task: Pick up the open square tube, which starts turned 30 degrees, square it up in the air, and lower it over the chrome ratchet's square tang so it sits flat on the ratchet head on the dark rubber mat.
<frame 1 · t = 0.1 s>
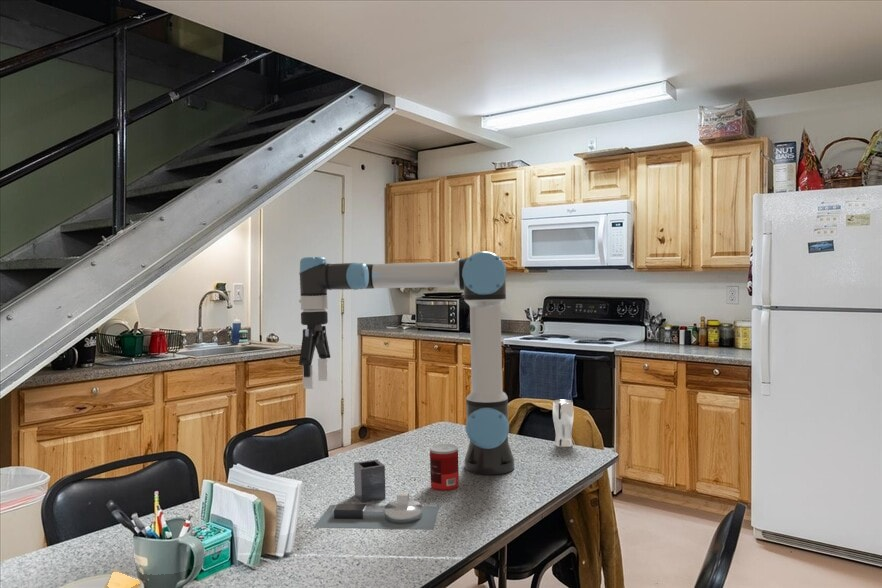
hand: (316, 384, 171), 28 cm above the table, fingers open, 13 cm apart
beer glass: (563, 445, 203), on the table
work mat: (378, 518, 143), on the table
open square tube: (370, 498, 156), on the table
ratchet: (403, 516, 142), resting on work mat
canned food: (444, 488, 163), on the table
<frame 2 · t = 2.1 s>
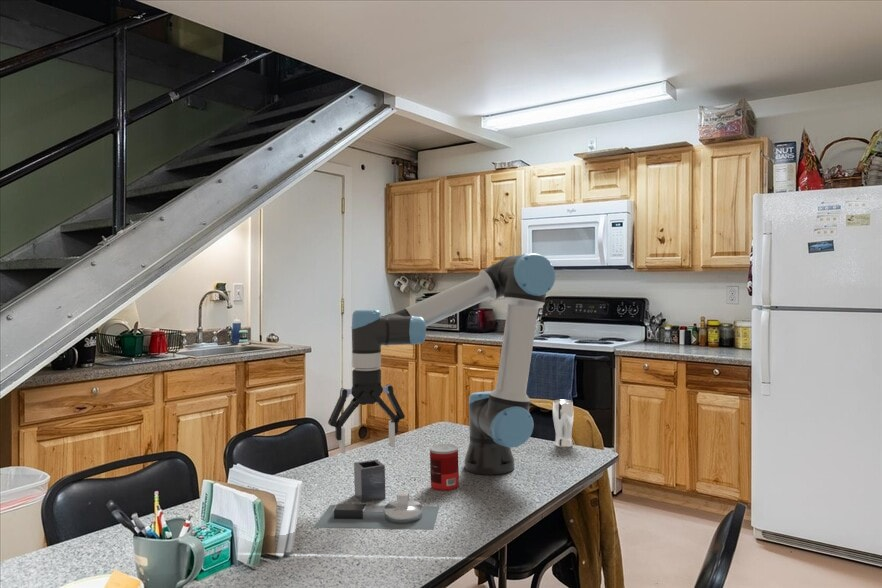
hand: (367, 449, 156), 13 cm above the table, fingers open, 13 cm apart
nothing on the table moved.
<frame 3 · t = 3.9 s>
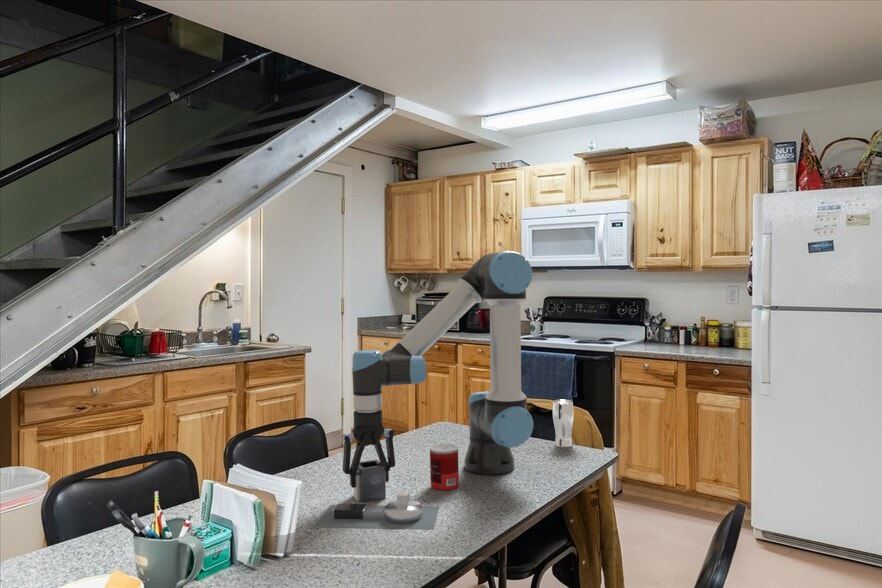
hand: (370, 496, 156), 0 cm above the table, fingers closed on open square tube, 6 cm apart
open square tube: (370, 498, 156), on the table, touching gripper
everything else where it was.
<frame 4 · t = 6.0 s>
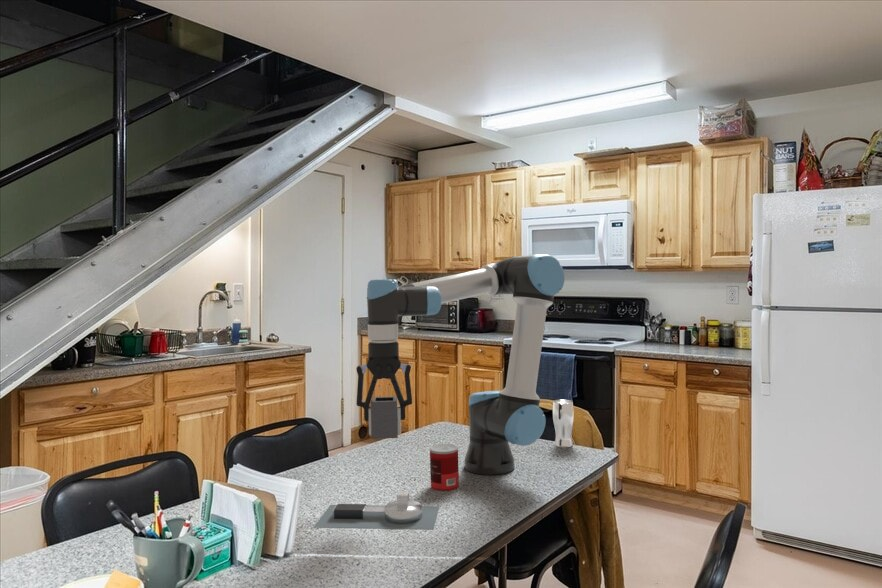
hand: (385, 433, 148), 19 cm above the table, fingers closed on open square tube, 6 cm apart
open square tube: (385, 435, 148), point 19 cm above the table, touching gripper
everything else where it was.
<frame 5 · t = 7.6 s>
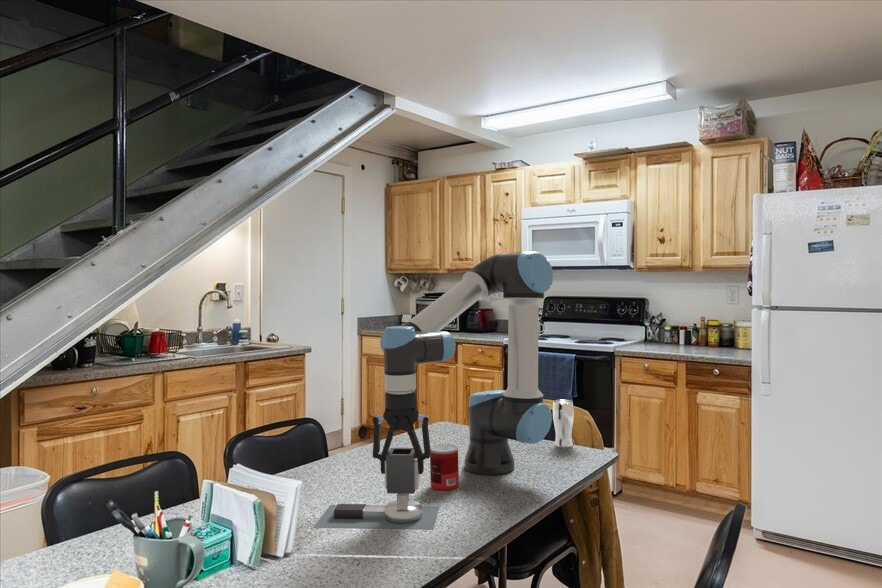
hand: (402, 486, 142), 8 cm above the table, fingers closed on open square tube, 6 cm apart
open square tube: (402, 488, 142), point 7 cm above the table, touching gripper
everything else where it was.
when the fingers open (4 cm above the table, at t = 8.6 s): open square tube stays where it is, resting on ratchet.
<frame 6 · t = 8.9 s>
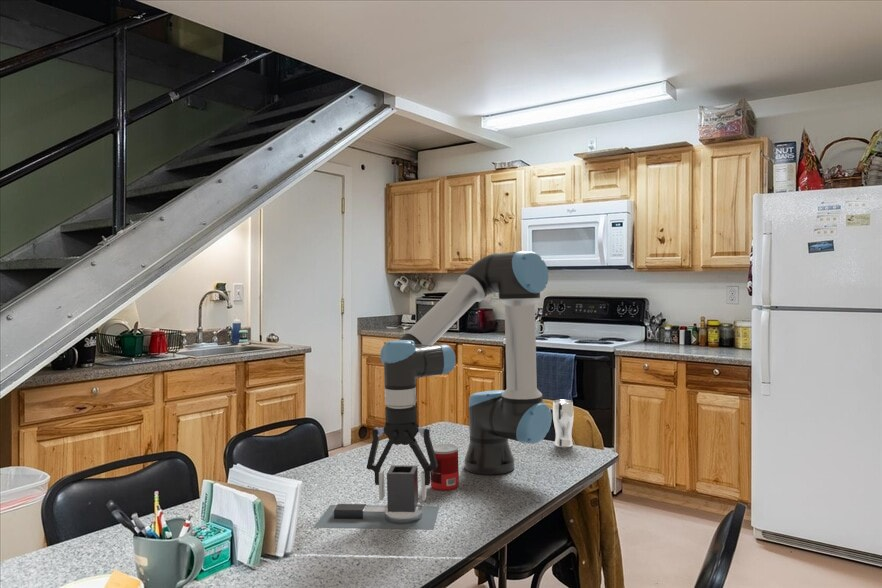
hand: (403, 498, 142), 5 cm above the table, fingers open, 9 cm apart
open square tube: (403, 506, 142), point 3 cm above the table, touching ratchet
ratchet: (403, 516, 142), resting on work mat, touching open square tube
everything else where it was.
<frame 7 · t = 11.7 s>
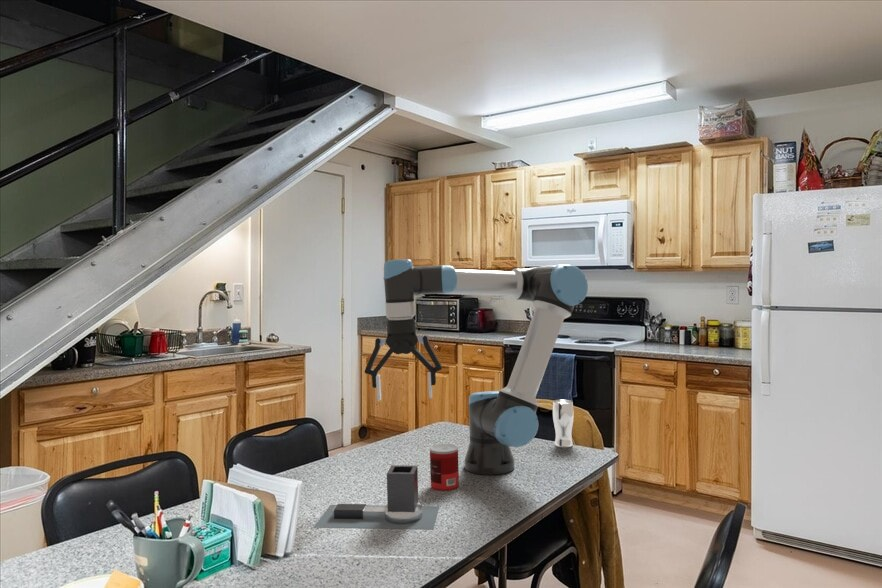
hand: (405, 398, 156), 26 cm above the table, fingers open, 13 cm apart
nothing on the table moved.
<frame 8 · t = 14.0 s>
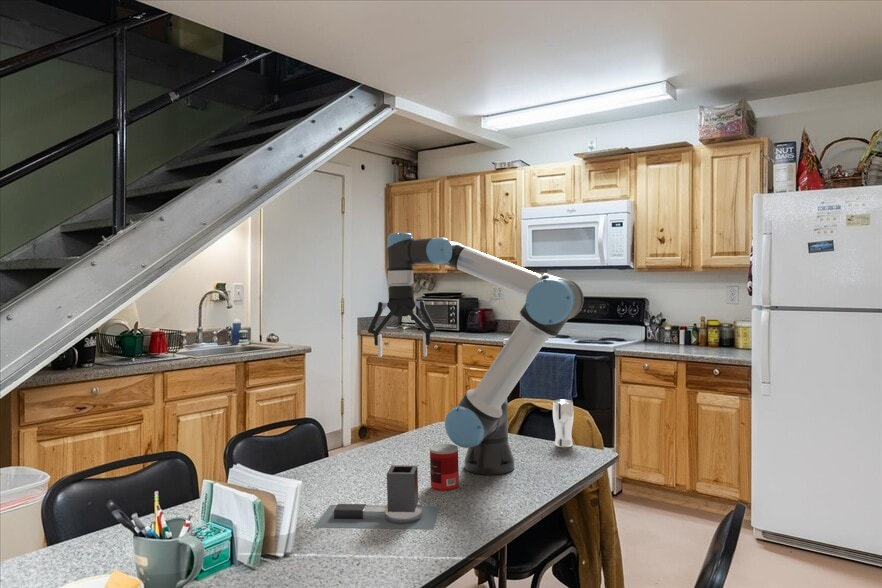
hand: (402, 356, 177), 35 cm above the table, fingers open, 13 cm apart
nothing on the table moved.
at the end: open square tube 0.0 cm off-centre on the ratchet, point 2.4 cm above the ratchet's base; open square tube tilted 0°; the gripper is holding nothing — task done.
